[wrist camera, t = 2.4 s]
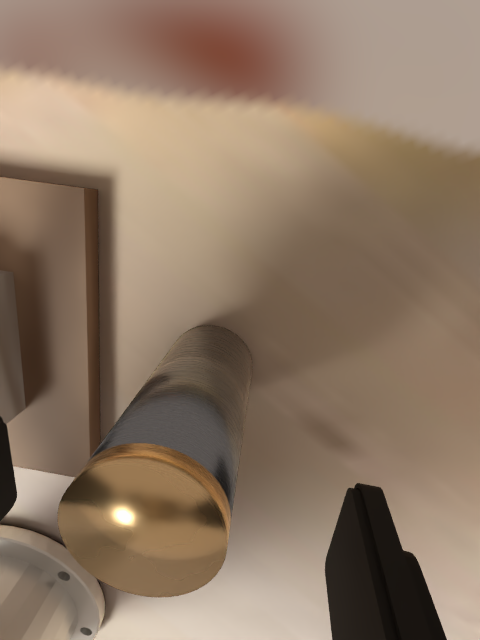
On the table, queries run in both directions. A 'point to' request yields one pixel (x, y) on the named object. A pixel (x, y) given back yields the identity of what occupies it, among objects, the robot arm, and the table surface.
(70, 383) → the docking plate
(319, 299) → the table surface
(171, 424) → the gold topped cylinder
